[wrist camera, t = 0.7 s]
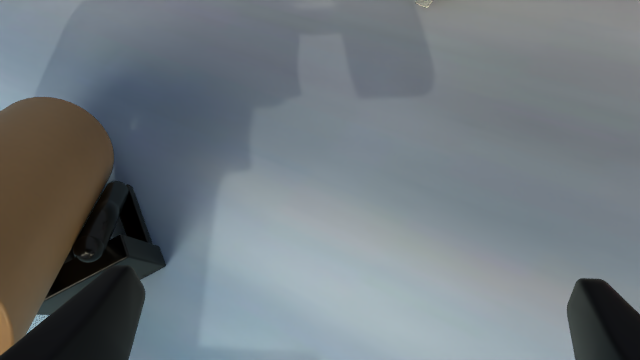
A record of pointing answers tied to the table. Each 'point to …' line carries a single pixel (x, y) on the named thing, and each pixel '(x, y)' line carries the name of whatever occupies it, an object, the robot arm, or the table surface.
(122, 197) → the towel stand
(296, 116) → the table surface
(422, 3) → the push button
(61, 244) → the paper towel roll
